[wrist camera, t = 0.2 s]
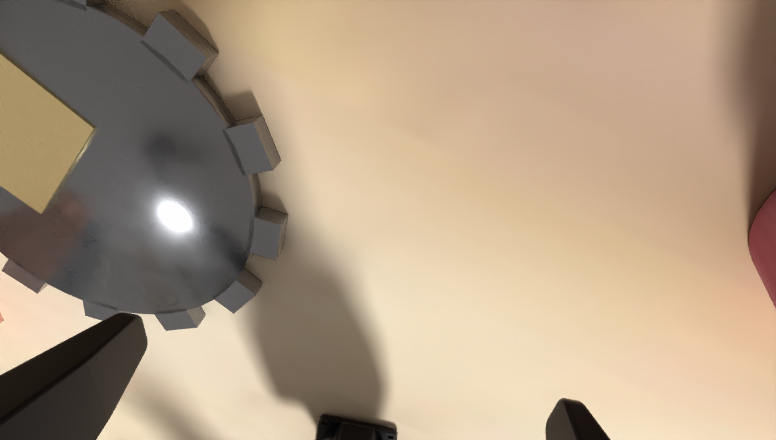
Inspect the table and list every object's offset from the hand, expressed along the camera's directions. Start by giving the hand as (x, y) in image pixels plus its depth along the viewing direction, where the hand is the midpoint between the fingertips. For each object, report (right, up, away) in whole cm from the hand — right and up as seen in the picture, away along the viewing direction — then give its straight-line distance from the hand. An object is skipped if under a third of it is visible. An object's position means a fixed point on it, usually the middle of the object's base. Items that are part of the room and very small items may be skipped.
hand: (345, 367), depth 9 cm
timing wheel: (-16, +6, +16) cm, 24 cm away
